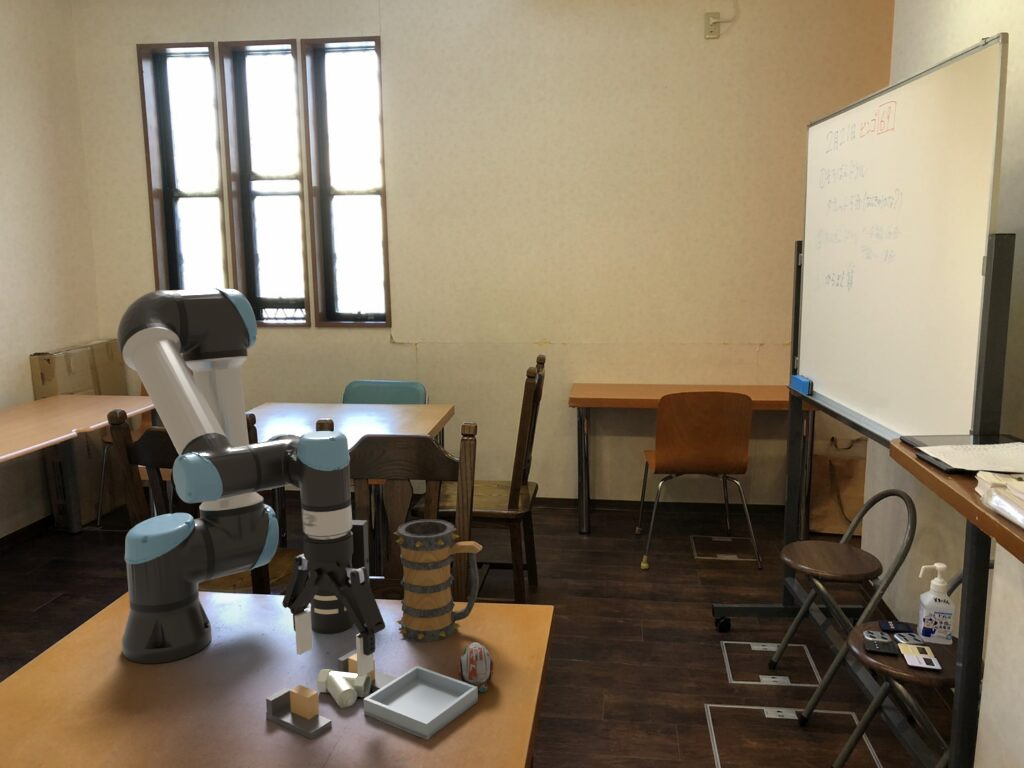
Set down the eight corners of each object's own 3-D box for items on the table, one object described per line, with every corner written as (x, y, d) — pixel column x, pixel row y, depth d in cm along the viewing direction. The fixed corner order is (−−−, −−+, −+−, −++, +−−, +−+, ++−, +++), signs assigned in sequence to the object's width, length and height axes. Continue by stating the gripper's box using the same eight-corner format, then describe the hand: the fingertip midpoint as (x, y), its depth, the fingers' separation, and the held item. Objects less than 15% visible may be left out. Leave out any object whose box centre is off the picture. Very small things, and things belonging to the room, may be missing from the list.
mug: (405, 612, 164) (402, 515, 161) (490, 618, 161) (489, 519, 158) (385, 642, 151) (381, 537, 148) (476, 648, 149) (475, 542, 146)
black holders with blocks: (266, 718, 126) (264, 691, 126) (354, 667, 142) (353, 643, 141) (311, 739, 121) (310, 710, 120) (398, 683, 136) (397, 658, 136)
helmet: (458, 698, 134) (458, 671, 130) (457, 657, 141) (457, 631, 137) (494, 696, 135) (495, 669, 131) (491, 656, 141) (492, 629, 137)
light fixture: (300, 632, 155) (296, 542, 153) (325, 602, 169) (321, 519, 166) (350, 635, 154) (347, 544, 152) (371, 604, 168) (368, 520, 165)
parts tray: (364, 714, 127) (363, 699, 127) (417, 679, 138) (416, 665, 137) (426, 739, 120) (426, 724, 120) (477, 701, 131) (477, 686, 130)
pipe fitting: (355, 715, 128) (372, 690, 135) (353, 692, 127) (370, 669, 134) (308, 709, 130) (326, 684, 136) (306, 687, 129) (325, 663, 136)
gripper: (255, 525, 131) (263, 651, 134) (369, 553, 117) (376, 693, 120) (291, 513, 137) (298, 634, 140) (404, 538, 123) (410, 671, 126)
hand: (334, 661), depth 130 cm, fingers open, 13 cm apart
